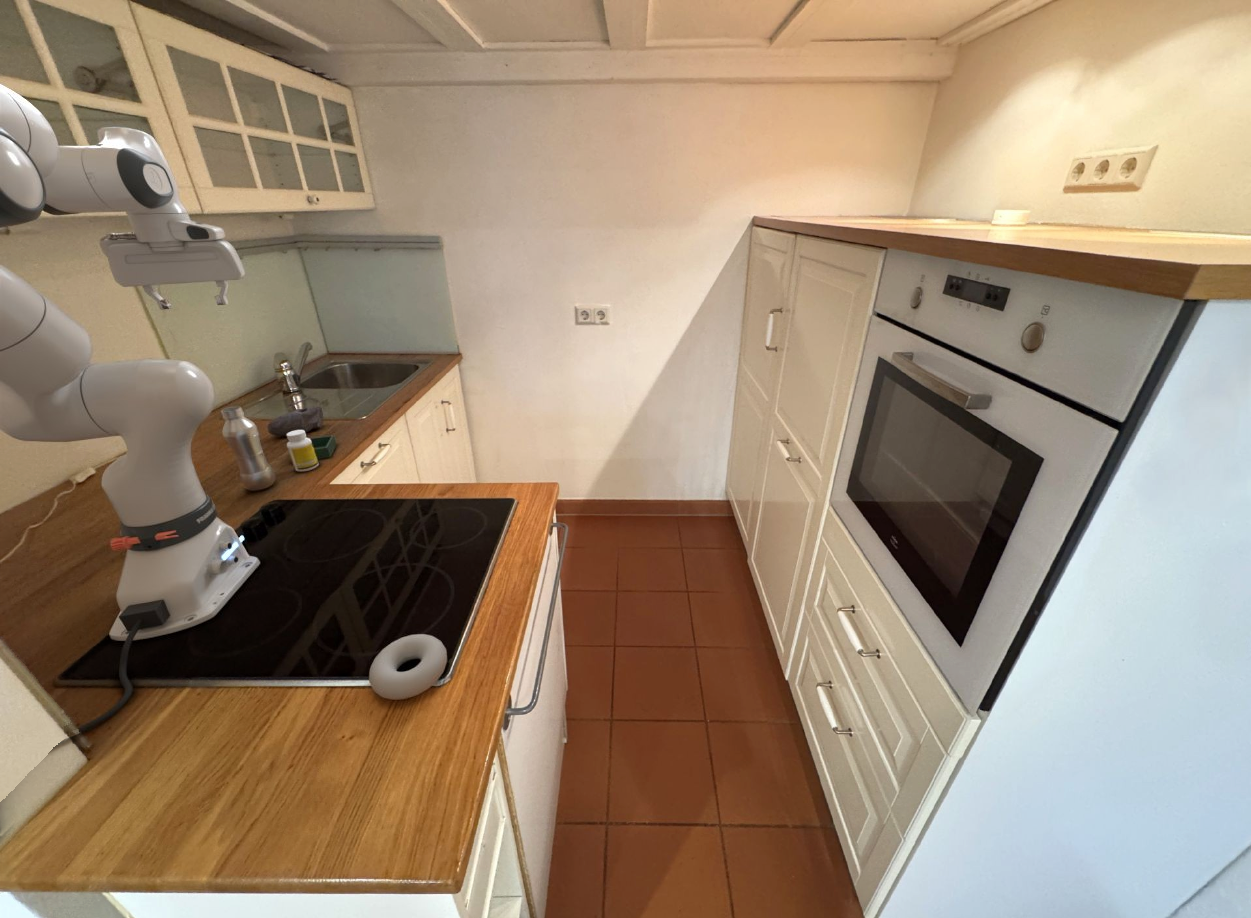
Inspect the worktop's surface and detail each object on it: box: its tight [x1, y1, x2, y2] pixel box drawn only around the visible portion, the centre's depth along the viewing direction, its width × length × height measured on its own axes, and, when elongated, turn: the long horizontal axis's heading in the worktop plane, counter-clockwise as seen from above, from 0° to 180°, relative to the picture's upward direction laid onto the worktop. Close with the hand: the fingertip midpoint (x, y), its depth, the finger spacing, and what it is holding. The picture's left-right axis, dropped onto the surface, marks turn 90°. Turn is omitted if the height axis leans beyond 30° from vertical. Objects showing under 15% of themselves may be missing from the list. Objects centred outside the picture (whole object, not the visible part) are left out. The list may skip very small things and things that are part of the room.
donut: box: [368, 633, 448, 701], centre depth 68 cm, size 10×3×10 cm
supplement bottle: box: [286, 430, 320, 473], centre depth 127 cm, size 5×5×10 cm
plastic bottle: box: [220, 405, 276, 492], centre depth 116 cm, size 6×7×20 cm
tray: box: [290, 434, 337, 464], centre depth 136 cm, size 9×9×3 cm
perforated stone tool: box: [267, 405, 324, 437], centre depth 149 cm, size 15×5×7 cm, turn 127°
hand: (195, 306), depth 100 cm, fingers open, 8 cm apart
